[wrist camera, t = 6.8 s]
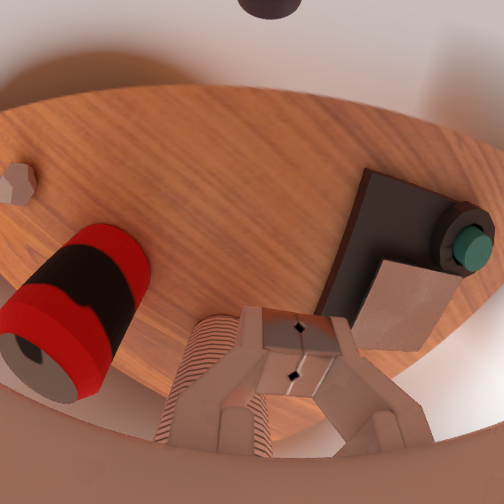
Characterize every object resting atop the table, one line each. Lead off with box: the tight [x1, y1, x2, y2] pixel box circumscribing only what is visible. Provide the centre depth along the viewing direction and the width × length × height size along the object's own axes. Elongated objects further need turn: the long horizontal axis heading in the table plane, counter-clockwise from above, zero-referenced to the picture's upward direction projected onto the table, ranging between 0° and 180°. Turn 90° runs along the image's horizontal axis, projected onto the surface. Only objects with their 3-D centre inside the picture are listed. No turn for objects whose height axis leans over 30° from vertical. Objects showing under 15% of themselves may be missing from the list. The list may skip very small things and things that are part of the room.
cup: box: [153, 315, 273, 458], centre depth 19 cm, size 8×8×16 cm
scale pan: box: [350, 258, 462, 352], centre depth 21 cm, size 8×8×1 cm
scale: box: [314, 168, 495, 327], centre depth 21 cm, size 14×12×3 cm
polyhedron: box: [0, 162, 37, 206], centre depth 18 cm, size 4×4×3 cm
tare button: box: [453, 226, 492, 271], centre depth 18 cm, size 3×3×2 cm
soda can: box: [0, 224, 150, 404], centre depth 17 cm, size 8×8×12 cm
